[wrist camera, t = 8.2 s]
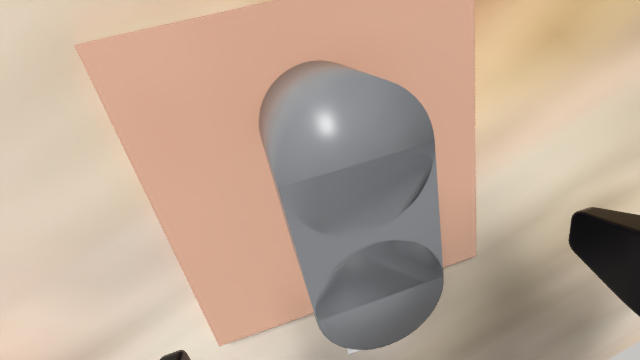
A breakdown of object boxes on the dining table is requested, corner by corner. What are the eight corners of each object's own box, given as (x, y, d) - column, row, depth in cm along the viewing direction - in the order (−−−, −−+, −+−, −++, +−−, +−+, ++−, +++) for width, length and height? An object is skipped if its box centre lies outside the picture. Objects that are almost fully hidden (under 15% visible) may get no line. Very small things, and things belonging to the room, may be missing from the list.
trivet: (462, -41, 12) (473, -44, 11) (468, 248, 17) (476, 255, 16) (82, 43, 10) (73, 45, 9) (219, 335, 15) (219, 346, 15)
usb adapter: (242, 77, 11) (253, 104, 7) (365, 47, 11) (429, 57, 8) (312, 311, 15) (339, 398, 12) (397, 280, 16) (448, 355, 12)
